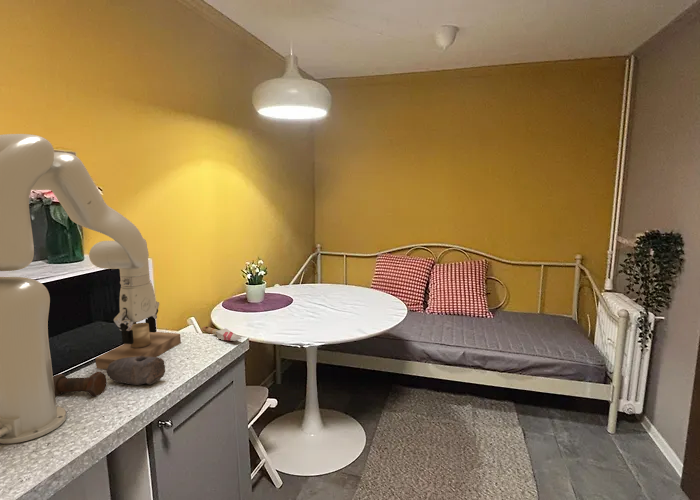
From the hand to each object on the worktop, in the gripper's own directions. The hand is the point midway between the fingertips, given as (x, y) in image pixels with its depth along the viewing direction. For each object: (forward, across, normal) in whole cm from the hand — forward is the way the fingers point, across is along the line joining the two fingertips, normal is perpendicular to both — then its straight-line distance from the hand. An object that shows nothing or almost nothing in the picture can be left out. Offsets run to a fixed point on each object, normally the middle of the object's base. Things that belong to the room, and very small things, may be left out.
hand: (140, 337), depth 125 cm
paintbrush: (+6, +18, -15) cm, 25 cm away
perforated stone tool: (+6, -16, -11) cm, 20 cm away
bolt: (+6, -24, 0) cm, 25 cm away
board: (+5, 0, 0) cm, 5 cm away
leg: (+5, 0, 0) cm, 5 cm away
